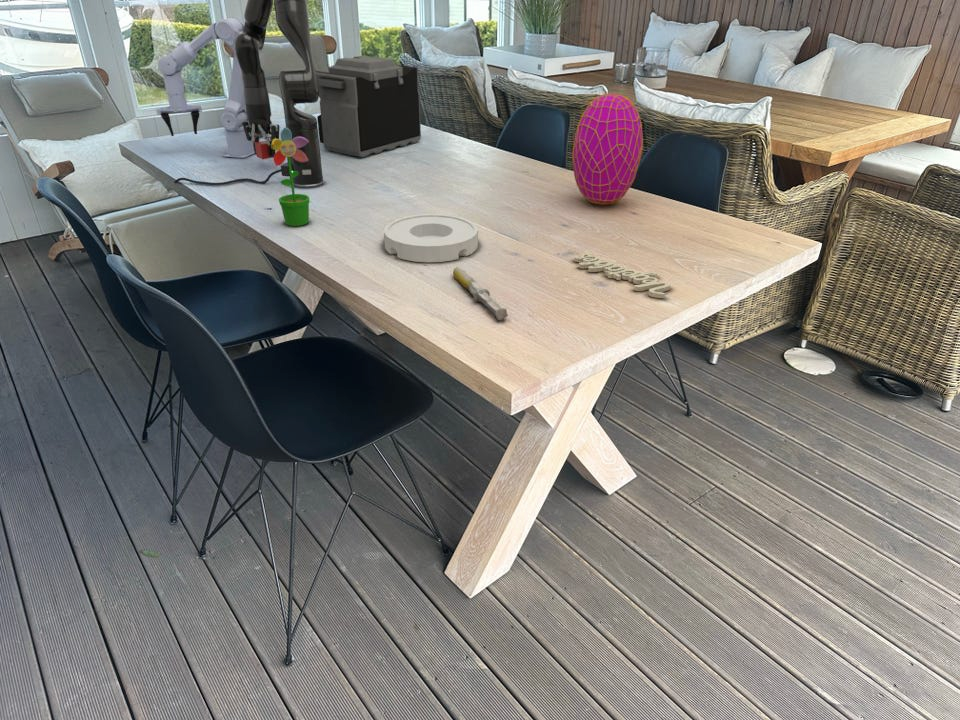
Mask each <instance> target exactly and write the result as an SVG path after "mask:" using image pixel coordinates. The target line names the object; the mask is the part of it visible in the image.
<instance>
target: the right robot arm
mask: <svg viewBox="0 0 960 720" xmlns="http://www.w3.org/2000/svg"><path fill="white" fill-rule="evenodd" d="M307 2H308V1H307V0H246V5H245V9H244V15H243V18H244V23H243V25H244V28H243V32H242V33H241V34H239V35H238V36H237V37H236V39H235V52H236V56H237V59H238V63H239V66H240V69H241V72H242V81H243V86H244V99H245V100H244V103H245V105H246V112H247V116H248V117H249V121H245V122H242V124H243V127H244V131H245V134H246V137H247V140H248V141H251V142H252V143H253V147H254V152H255V153H254V154H255V156H257V154H256V148H255V142H260V138H261V137H260V136H261V135H263V137H262V138H263V139H264V141H266V142H267V144H268V146H267V147H268V153H269V157H273V156H274V155H275V153H276V152H277V151H276V150H273V149H272V148H271V144H272V141H273V139H279V140H280V124H278V123H277V124H274V123H273V122H272V120H271V116H272V109H271V102H270V95H269V91H268V86H267V79H266V73H265V70H264V68H263V67H262V65H261V60H260V54H261V53H262V51H263V49H264V45H265V41H266V34H267V26H268V23H269V20H270V17H271V14H272V10H273V7H274V13H275V21H276V25H277V27H278V29H279V31H280V33H281V34H282V35H283V36H284V38H285V39H286V40H287V41H288V42H289V44H290V45H291V47H292V48H293V49H294V51H295V52H296V53H297V55H298V57H299V59H300V62H301V63H302V66H303V69H282V70H281V71H280V72H279V75H278V83H279V90H280V95H281V101H282V107H283V114H284V123H285V128H288V129H289V130H290V131H291V134H292V139H293V138H295V137H299V136H300V137H304V138H305V139H307V140H308V141H309V143H307V144H306V145H305V146H303V147H301V148H297V149H299V150H301V151H302V152H304V153H305V155H306V156H307V158H308V161H307V162H298V161H296V160H295V159H293V158H292V157H290V160H291V168H292V172H294V171H297V172H299V174H298V175H297V176H296V177H294V178H293V183H294V187H296V188H300V189H301V188H303V189H310V188H317V187H320V186H322V185H324V184H325V182H324V175H323V167H322V157H321V147H320V139H319V130H318V120H317V117H316V116H314V115H312V114H309V113H307V112H303V111H301V110H300V109H298V108H296V106H295V105H298V104H299V105H300V104H315V103H318V100H319V99H320V98H319V88H318V81H317V75H316V71H317V70H316V65H315V64H316V63H315V59H314V54H313V47H312V39H311V29H310V27H311V26H310V19H309V18H310V17H309V11H308V10H309V9H308V3H307ZM249 132H250V135H251V136H250V135H249ZM286 161H287V162H284V163H282V164H281V165H280V169H277V170H274V171H273V172H270V173H269V174H268V176H267V177H266V179H265V180H261V181H259V180H256V179H254V178H248V177H247V178H237V179H232V180H228V181H222V182H221V181H220V182H209V181H199V180H195V179H190V178H187V177H178V178H176V179H175V180H174V181H173V183H174V184H178V182H180V181H185V182H189V183H192V184H197V185H205V186H225V185H230V184H233V183H239V182H250V183H251V182H252V183H255V184H259V185H260V184H261V185H263V184H266V183H268V182H269V181H270V179H271V178H272V177H273V176H274V175H276V174H277V173H281V176H282V177H288V178H290V173H289V165H288V158H287V157H286Z"/></svg>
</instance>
